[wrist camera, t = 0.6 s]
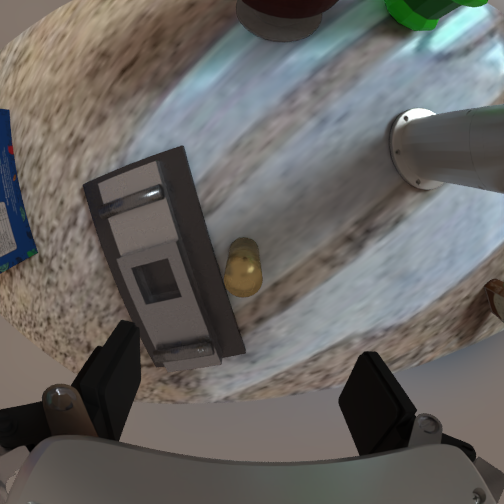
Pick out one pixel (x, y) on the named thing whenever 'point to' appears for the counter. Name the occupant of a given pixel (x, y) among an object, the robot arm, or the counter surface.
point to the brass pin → (243, 268)
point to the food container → (496, 297)
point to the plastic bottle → (425, 11)
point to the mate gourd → (282, 17)
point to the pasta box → (11, 205)
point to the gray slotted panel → (165, 261)
